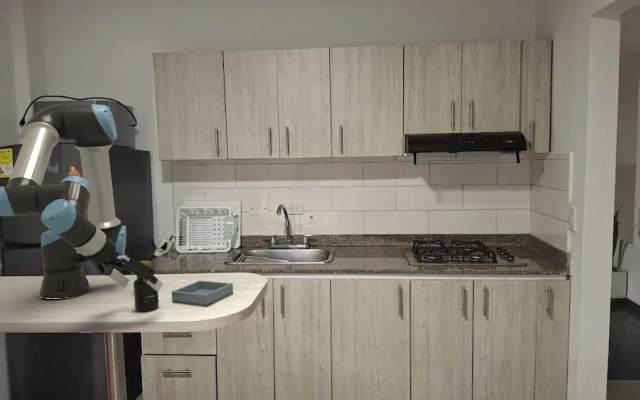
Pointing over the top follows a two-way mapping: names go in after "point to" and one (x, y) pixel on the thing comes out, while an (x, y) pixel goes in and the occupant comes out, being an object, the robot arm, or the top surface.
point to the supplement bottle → (145, 296)
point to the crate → (202, 293)
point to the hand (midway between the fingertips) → (142, 285)
